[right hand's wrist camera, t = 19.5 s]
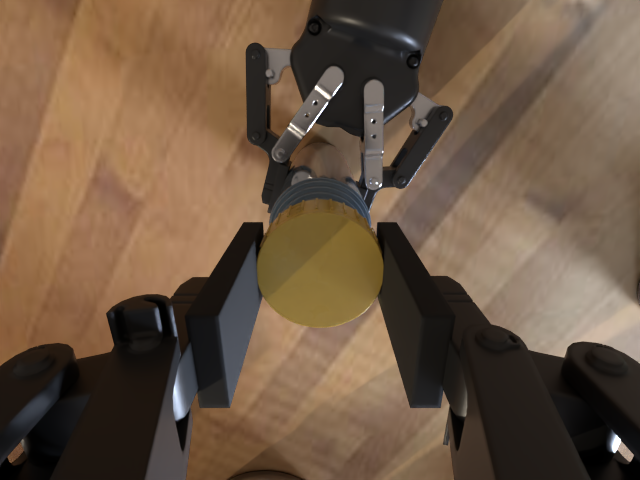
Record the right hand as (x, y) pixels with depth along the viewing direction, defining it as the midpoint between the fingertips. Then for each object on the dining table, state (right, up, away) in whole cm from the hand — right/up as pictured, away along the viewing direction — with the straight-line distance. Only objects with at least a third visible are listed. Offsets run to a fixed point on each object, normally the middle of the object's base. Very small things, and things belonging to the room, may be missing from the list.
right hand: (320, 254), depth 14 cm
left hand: (-1, +2, +12) cm, 12 cm away
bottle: (0, +7, +17) cm, 18 cm away
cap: (0, -1, -1) cm, 2 cm away
